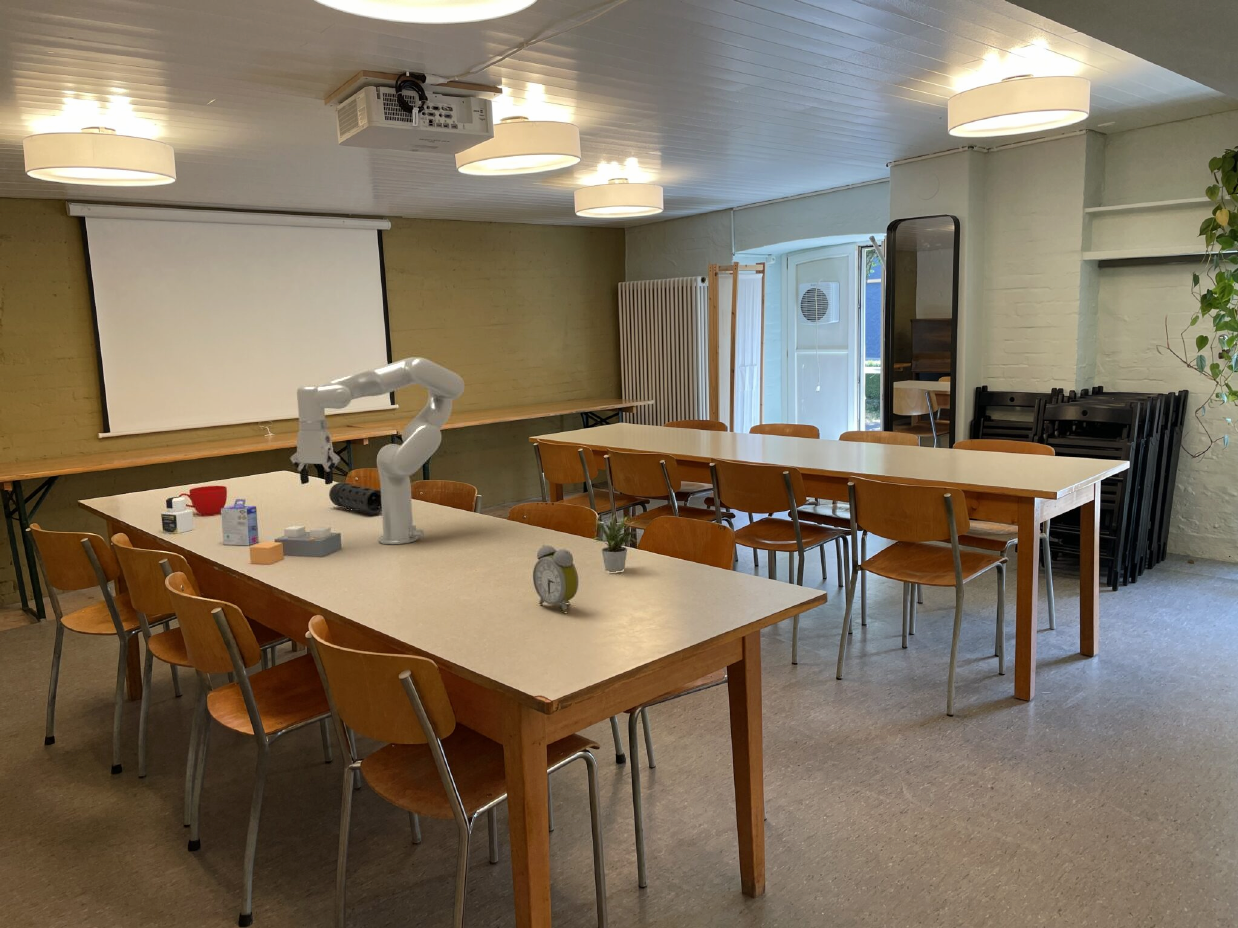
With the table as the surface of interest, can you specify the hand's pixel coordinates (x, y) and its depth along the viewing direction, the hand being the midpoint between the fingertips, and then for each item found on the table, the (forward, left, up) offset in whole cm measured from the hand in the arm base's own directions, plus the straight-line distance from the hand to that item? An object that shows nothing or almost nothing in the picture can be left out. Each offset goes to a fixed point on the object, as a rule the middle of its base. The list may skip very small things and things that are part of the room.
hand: (317, 483), depth 265 cm
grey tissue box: (+5, 0, -22) cm, 22 cm away
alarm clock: (-89, +41, -22) cm, 101 cm away
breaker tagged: (0, 0, -18) cm, 18 cm away
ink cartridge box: (+34, -6, -22) cm, 41 cm away
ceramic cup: (+80, -46, -22) cm, 95 cm away
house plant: (-94, +8, -22) cm, 97 cm away
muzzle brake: (+23, -60, -22) cm, 68 cm away
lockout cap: (+11, +13, -22) cm, 27 cm away
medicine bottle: (+69, -19, -22) cm, 75 cm away
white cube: (+9, 0, -18) cm, 20 cm away
